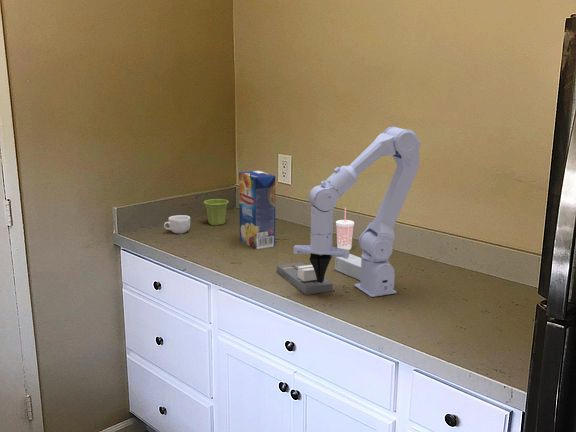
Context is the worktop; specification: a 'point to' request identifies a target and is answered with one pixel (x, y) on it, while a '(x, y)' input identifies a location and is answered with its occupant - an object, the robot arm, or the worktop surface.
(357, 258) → the skincare box
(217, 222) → the plant pot
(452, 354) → the worktop surface
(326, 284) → the mixing panel
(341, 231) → the beverage cup
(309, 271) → the fader
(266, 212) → the juice carton
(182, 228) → the teacup
